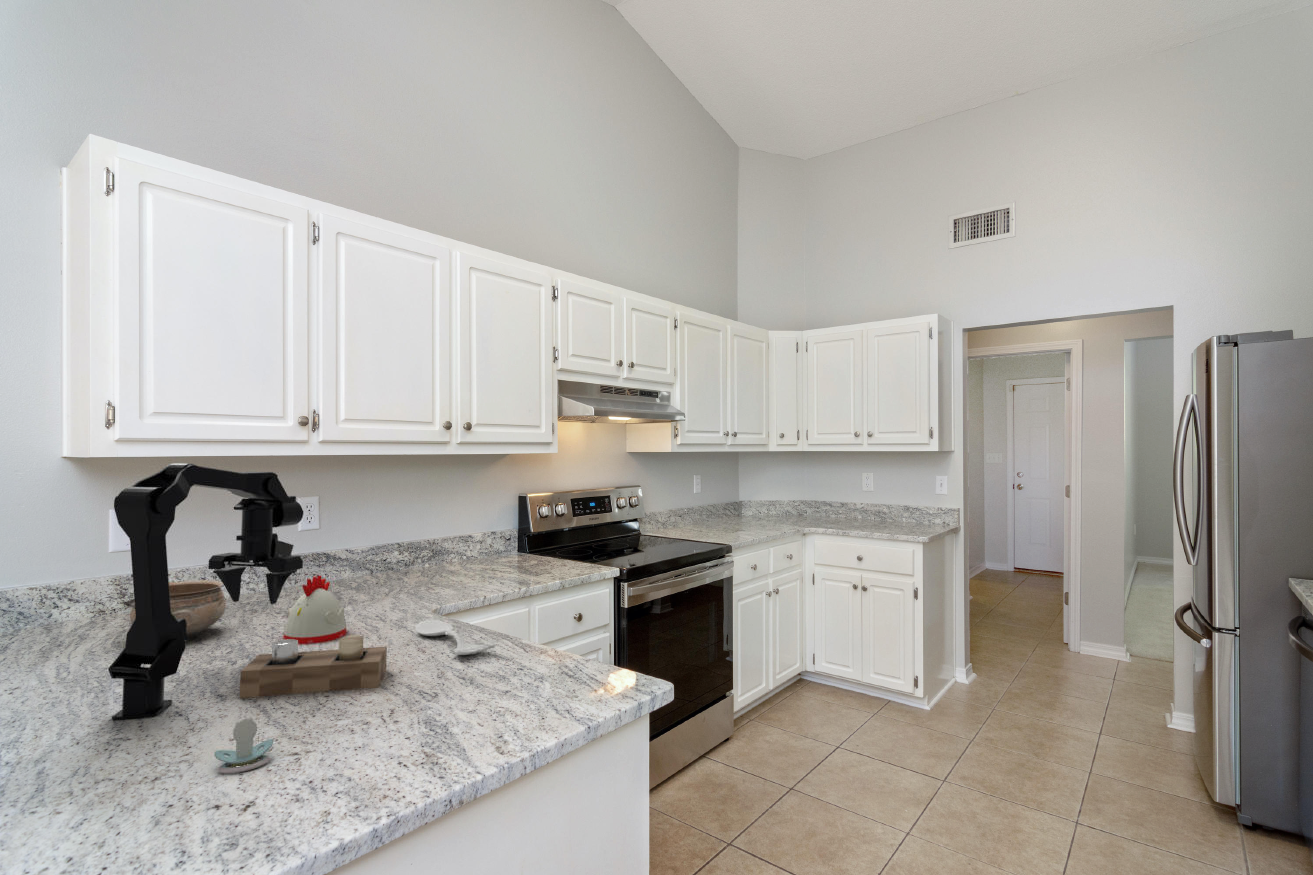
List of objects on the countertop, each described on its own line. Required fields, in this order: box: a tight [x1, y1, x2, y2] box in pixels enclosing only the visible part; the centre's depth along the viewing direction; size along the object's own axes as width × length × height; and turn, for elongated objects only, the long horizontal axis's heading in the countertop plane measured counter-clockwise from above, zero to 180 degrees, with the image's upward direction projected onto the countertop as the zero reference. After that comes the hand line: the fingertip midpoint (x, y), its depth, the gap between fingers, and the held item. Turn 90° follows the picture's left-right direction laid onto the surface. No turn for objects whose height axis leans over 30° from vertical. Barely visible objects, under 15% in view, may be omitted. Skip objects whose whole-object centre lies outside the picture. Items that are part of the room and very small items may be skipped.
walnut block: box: [239, 646, 388, 699], centre depth 125 cm, size 10×24×5 cm, turn 105°
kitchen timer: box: [282, 574, 347, 645], centre depth 158 cm, size 14×14×15 cm
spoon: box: [414, 619, 496, 656], centre depth 153 cm, size 9×32×4 cm, turn 40°
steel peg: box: [271, 639, 299, 665], centre depth 124 cm, size 4×4×5 cm
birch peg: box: [338, 634, 364, 660], centre depth 127 cm, size 4×4×5 cm
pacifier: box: [214, 718, 274, 775], centre depth 93 cm, size 7×6×6 cm
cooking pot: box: [129, 579, 227, 639], centre depth 155 cm, size 25×19×12 cm
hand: (254, 602), depth 135 cm, fingers open, 9 cm apart
